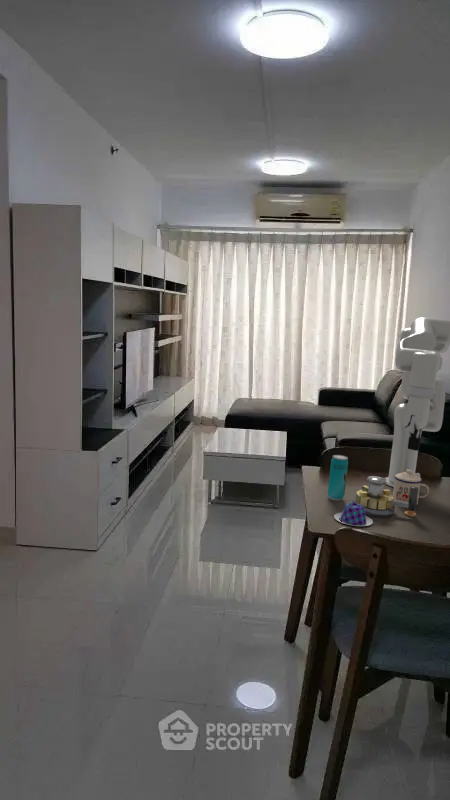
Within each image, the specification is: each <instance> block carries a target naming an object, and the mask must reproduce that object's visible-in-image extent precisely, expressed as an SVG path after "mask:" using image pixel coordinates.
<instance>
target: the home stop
mask: <svg viewBox="0 0 450 800" xmlns="http://www.w3.org/2000/svg"><path fill="white" fill-rule="evenodd" d="M404 515H405V516H407V517H416V516H417V513H416V511H410V510H408V509H407V510H406V511H404Z"/></svg>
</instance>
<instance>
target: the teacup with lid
mask: <svg viewBox="0 0 450 800" xmlns="http://www.w3.org/2000/svg"><path fill="white" fill-rule="evenodd" d="M411 486H415V487H418V488H419V489H418V497H417V504H416V506H417V505H418V504H419V499H424V498H426V497H427V496H428V495H429V492H430V488H429V486H428V485H427V484H425V483H422V477H421V476H420V477H418V476H416V475H415V474H414V473H412V470H409V469H408V470H406V472H403V473H399V474H396V475H395V484H394V487H393V492H392V496H393V500H398V501H403V502H408V500H409V493H410V487H411ZM421 487H423V488H424V487H425V489H426V492H425V493H424V494H422V495H420V490H421Z"/></svg>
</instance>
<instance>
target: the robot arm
mask: <svg viewBox="0 0 450 800" xmlns="http://www.w3.org/2000/svg"><path fill="white" fill-rule="evenodd" d="M449 347H450V320H449V319H447V318H446V319H445V318H435V317H417V318H416V319H414V320H413V321H412V323H411V324H410V326H409V327H406V328H405V329H403V330H401V332H400V336H399V343H398V345H397V346H396V350H395V361H394V362H395V366H396V369H397V370H398V371H399V372H400V371H401V372H402V377H401V378H402V379H401V389H400V390H401V391H400V392H401V396H402V398H403V399H406V400H408V401H407V403H400V404H398V405H396V407H395V409H394V412H393V418H394V419H393V421H394V422H393V426H394V427H393V428H394V429H393V439H392V447H391V453H390V454H391V455H390V462H389V463H390V464H389V470H388V476H386V477H384V479H386V483H385V484H384V485H387V486H389V487H392V488H394V484H395V475H396V474H399V473H403V472H406V470H408V469H409V470H412V473H414V474H415V475H416V476H418V477H420V478H421V474H420V473H419V472H417V473H416V468H417V462H418V461H417V460H418V453H419V450H420V445H421V439H422V438H421V437H422V432H424V431H425V432H433V433H435V432H439V431H440V430H441V428H442V425H443V421H444V410H445V402H446V401H445V400H446V383H445V381H444V380H443V379H442V378H439V377H437V374H438V373H439V371H440V370H441V369H442V366H443V357H442V355H441V354H444V353H446V352H447V351H448V349H449Z"/></svg>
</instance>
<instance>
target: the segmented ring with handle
mask: <svg viewBox="0 0 450 800" xmlns="http://www.w3.org/2000/svg"><path fill="white" fill-rule="evenodd" d="M368 486H369V485H362V486H361V489H359V490H357V491H356V494H355V499H356V502H357V503H358V504H361V505H363V506H364V507H368V508H372V509H376V508H377V509H382V510H385V509H390V508H392V505H394V506H395V507H401V508H406V509H407V511H408V510H410V511H414V512H416V510H417V505H418V504H417V497H418V489H419V488H418V487H415V486H411V487H410V493H409V500H408V502H403V501H398V500H393V494H391V492H392V490H390V489H388V488H387V489H385V488H384V489H383V495H381V499H375V498H370V497H367V496H368ZM416 504H417V505H416Z"/></svg>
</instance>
